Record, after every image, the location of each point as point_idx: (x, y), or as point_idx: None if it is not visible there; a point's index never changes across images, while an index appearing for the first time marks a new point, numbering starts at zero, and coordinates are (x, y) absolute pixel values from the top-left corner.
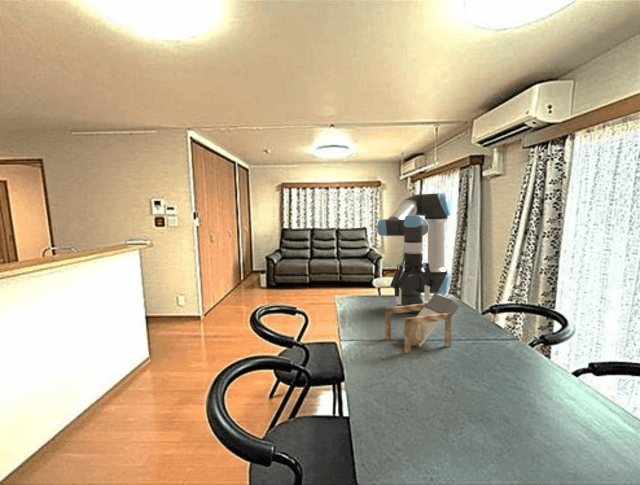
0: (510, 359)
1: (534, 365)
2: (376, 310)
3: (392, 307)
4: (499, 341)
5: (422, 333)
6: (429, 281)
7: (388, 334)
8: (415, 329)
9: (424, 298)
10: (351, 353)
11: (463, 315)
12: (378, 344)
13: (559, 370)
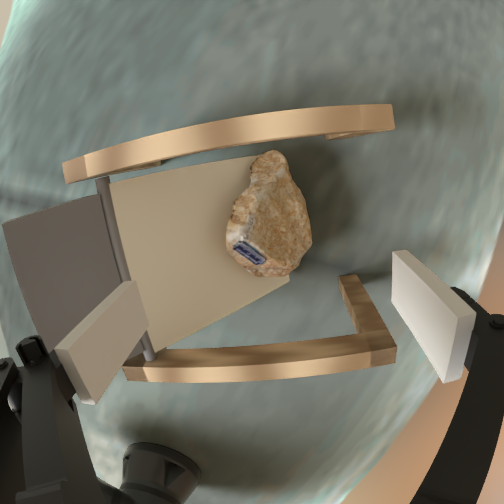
0: (47, 51)
1: (30, 25)
2: (259, 484)
3: (354, 362)
4: (8, 181)
5: (237, 192)
6: (26, 383)
7: (354, 283)
8: (273, 197)
9: (144, 331)
10: (499, 189)
11: None
12: (404, 238)
13: (14, 10)
